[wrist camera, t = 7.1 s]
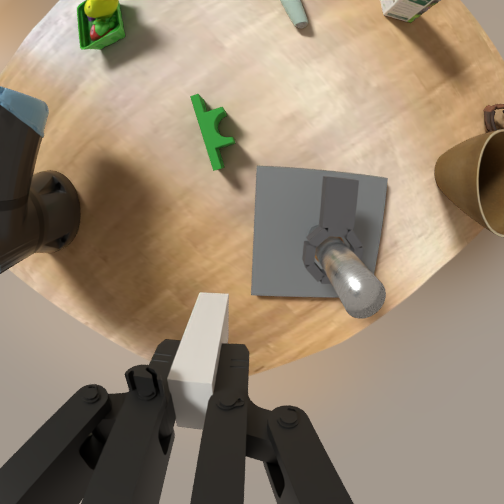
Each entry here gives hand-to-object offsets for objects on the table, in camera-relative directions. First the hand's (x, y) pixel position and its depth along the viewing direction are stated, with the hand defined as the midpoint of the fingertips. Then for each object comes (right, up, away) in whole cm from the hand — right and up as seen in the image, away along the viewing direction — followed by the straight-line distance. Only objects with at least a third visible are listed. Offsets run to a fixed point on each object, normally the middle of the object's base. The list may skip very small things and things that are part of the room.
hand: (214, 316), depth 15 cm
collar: (+12, +6, +21) cm, 25 cm away
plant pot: (+37, +18, +26) cm, 48 cm away
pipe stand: (+12, +6, +30) cm, 33 cm away
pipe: (+12, +6, +28) cm, 31 cm away
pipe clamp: (-3, +21, +25) cm, 33 cm away
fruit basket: (-22, +43, +18) cm, 52 cm away
